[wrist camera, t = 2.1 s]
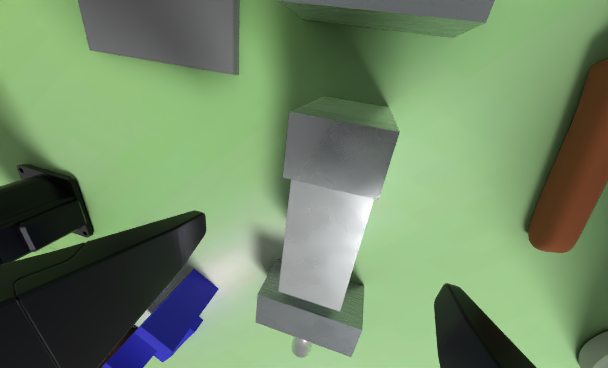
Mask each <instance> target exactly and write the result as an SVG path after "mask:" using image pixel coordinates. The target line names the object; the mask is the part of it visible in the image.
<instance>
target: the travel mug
mask: <svg viewBox="0 0 608 368" xmlns="http://www.w3.org/2000/svg"><path fill="white" fill-rule="evenodd" d="M579 365H580V367H581V368H608V331H606V332H603V333H601V334H599V335H597V336H595V337H593V338H592V339H591V340H589V341H588V342H587V343H586V344H585V345H584V346H583V347H582V349H581V350H580V353H579Z"/></svg>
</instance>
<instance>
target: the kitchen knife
mask: <svg viewBox="0 0 608 368" xmlns="http://www.w3.org/2000/svg"><path fill="white" fill-rule="evenodd" d="M607 181H608V58H607V59H605V60H602V61H600V62H598V63H596V64H595V65H593V66H592V67H591V68H590V69H589V72H588V74H587V77H586V81H585V84H584V88H583V92H582V95H581V99H580V102H579V105H578V108H577V110H576V113H575V116H574V118H573V121H572V123H571V126H570V128H569V130H568V133H567V135H566V137H565V140H564V142H563V144H562V147H561V149H560V151H559V154H558V156H557V158H556V160H555V163H554V165H553V167H552V169H551V172H550V174H549V176H548V179H547V181H546V183H545V186H544V188H543V190H542V193H541V195H540V198H539V200H538V203H537V205H536V208H535V210H534V213H533V215H532V218H531V221H530V225H529V233H528V235H529V240H530V242H531V244H532V245H533V246H534V247H535V248H537V249H539V250H541V251H547V252H557V253H563V252H567V251H569V250H570V249H572V248H573V246H574V245H575V244H576V242H577V240H578V239H579V237H580V235H581V233H582V231H583V229H584V227H585V225H586V223H587V221H588V219H589V217H590V215H591V213H592V211H593V209H594V207H595V205H596V203H597V201H598V199H599V197H600V195H601V193H602V191H603V189H604V187H605V185H606V183H607Z"/></svg>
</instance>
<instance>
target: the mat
mask: <svg viewBox="0 0 608 368" xmlns="http://www.w3.org/2000/svg"><path fill="white" fill-rule="evenodd" d="M78 3H79V7H80V11H81V15H82V20H83V24H84V28H85V32H86V36H87V41H88V45H89V49H90V50H92V51H98V52H104V53H109V54H115V55H121V56H127V57H133V58H139V59H145V60H150V61H156V62H162V63H168V64H174V65H180V66H186V67H192V68H197V69H203V70H209V71H215V72H221V73H227V74H233V75H239V0H78Z"/></svg>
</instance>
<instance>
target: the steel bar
mask: <svg viewBox="0 0 608 368" xmlns="http://www.w3.org/2000/svg"><path fill="white" fill-rule="evenodd" d="M398 135H399V129H398V127H397V125H396V122H395V120H394V118H393V115H392V113H391V111H390V108H389V107H387V106H380V105H374V104H368V103H362V102H356V101H350V100H344V99H338V98H332V97H326V96H323V97H321V98H319V99H316V100H314V101H312V102H310V103H307V104H305V105H303V106H301V107H299V108H296V109H294V110H292V111H290V112H289V118H288V129H287V139H286V150H285V160H284V171H283V178H286V179H291V185H290V194H289V202H288V211H287V220H286V229H285V238H284V246H283V255H282V264H281V273H280V282H279V290H278V291H279V292H282V293H285V294H288V295H291V296H294V297H297V298H300V299H303V300H306V301H309V302H312V303H315V304H319V305H322V306H325V307H328V308H331V309H334V310H337V311H340V310H341V307H342V303H343V300H344V297H345V293H346V290H347V287H348V283H349V280H350V277H351V273H352V270H353V267H354V263H355V260H356V257H357V253H358V250H359V247H360V243H361V240H362V237H363V233H364V230H365V227H366V224H367V220H368V217H369V214H370V210H371V207H372V204H373V200H374V199H376V200H378V199H379V196H380V193H381V190H382V187H383V183H384V180H385V177H386V174H387V171H388V167H389V164H390V161H391V158H392V154H393V151H394V148H395V145H396V142H397V138H398Z"/></svg>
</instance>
